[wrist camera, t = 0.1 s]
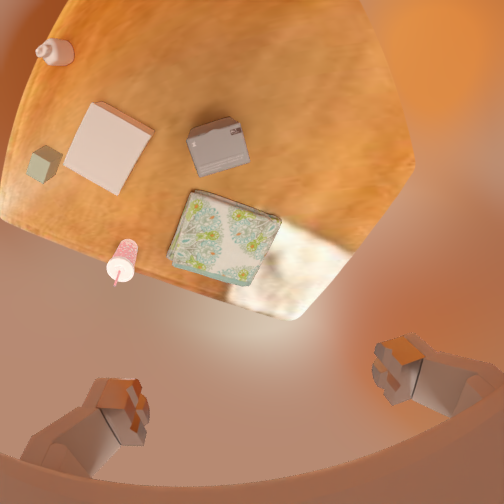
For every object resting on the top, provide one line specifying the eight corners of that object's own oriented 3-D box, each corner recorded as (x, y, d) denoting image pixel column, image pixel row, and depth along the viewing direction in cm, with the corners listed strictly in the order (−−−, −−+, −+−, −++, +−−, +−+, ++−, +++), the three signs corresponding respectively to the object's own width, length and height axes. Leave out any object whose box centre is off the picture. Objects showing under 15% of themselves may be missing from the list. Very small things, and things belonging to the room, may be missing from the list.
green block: (46, 145, 47) (32, 152, 42) (63, 154, 49) (50, 162, 44) (39, 164, 49) (26, 173, 44) (55, 174, 51) (43, 184, 46)
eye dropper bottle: (55, 66, 38) (25, 67, 28) (60, 41, 35) (30, 37, 25) (73, 65, 39) (44, 64, 29) (78, 39, 36) (50, 33, 26)
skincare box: (200, 157, 55) (197, 184, 42) (189, 124, 51) (182, 139, 38) (241, 145, 55) (252, 167, 42) (231, 111, 51) (240, 122, 38)
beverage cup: (126, 231, 61) (110, 267, 49) (146, 247, 64) (135, 286, 52) (111, 247, 63) (94, 285, 51) (130, 262, 66) (118, 302, 54)
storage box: (102, 99, 45) (91, 102, 40) (156, 130, 51) (151, 135, 46) (74, 156, 50) (62, 164, 45) (125, 185, 56) (117, 195, 51)
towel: (190, 184, 58) (189, 193, 54) (281, 216, 65) (286, 226, 61) (165, 254, 66) (163, 267, 62) (248, 277, 73) (251, 290, 69)
